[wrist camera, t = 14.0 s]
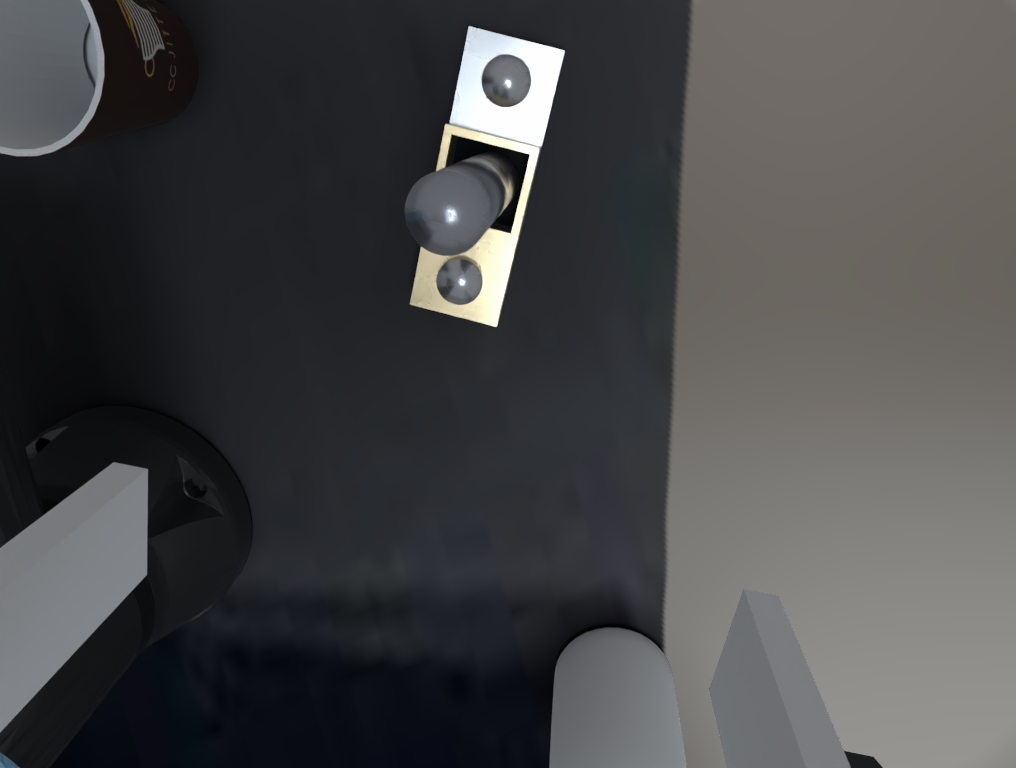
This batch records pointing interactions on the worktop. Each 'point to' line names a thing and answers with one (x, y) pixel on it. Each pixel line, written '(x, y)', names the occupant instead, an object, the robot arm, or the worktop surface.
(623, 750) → the milk bottle
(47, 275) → the worktop surface
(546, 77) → the barrel bolt latch
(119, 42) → the coffee mug
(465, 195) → the steel pin
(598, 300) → the worktop surface
